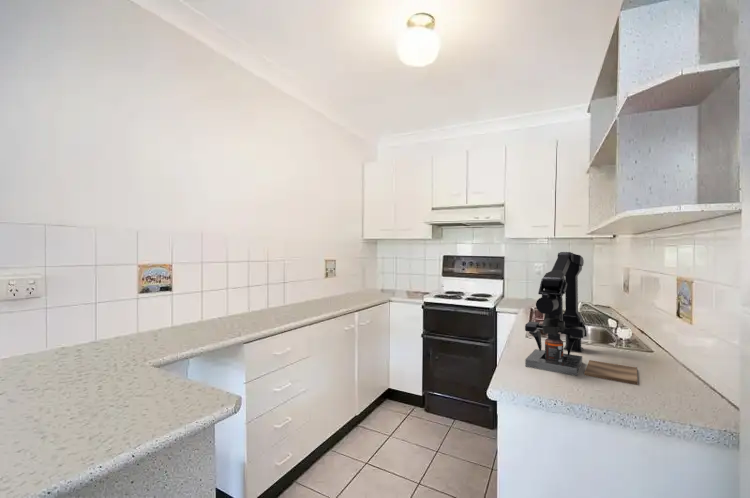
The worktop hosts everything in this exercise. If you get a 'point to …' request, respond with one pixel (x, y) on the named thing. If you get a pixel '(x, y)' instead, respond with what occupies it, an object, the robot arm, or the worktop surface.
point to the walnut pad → (612, 372)
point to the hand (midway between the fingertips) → (554, 352)
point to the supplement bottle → (554, 348)
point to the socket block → (554, 363)
